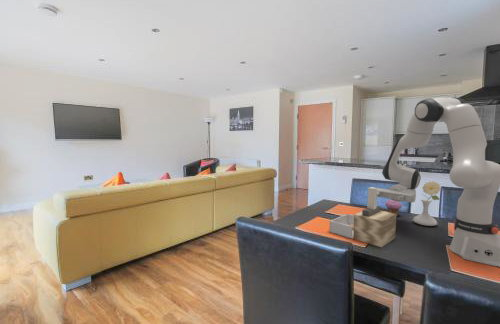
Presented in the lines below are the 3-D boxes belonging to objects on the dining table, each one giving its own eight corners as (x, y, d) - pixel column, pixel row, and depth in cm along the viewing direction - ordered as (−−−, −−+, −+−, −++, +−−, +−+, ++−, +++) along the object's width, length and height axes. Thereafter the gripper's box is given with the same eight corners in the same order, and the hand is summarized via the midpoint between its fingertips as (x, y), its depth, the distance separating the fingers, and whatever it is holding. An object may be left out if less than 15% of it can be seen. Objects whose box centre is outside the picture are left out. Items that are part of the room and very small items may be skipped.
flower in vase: (407, 222, 147) (410, 179, 145) (422, 220, 151) (425, 178, 148) (429, 229, 135) (433, 183, 133) (445, 227, 139) (448, 182, 136)
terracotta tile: (351, 224, 138) (351, 227, 138) (347, 225, 135) (347, 228, 135) (358, 226, 135) (358, 229, 135) (355, 227, 132) (354, 230, 132)
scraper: (380, 211, 127) (381, 186, 126) (368, 216, 118) (369, 190, 117) (374, 210, 129) (375, 185, 128) (362, 215, 121) (363, 189, 119)
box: (368, 230, 134) (368, 219, 134) (351, 238, 123) (352, 226, 122) (347, 224, 143) (347, 213, 143) (329, 232, 132) (329, 220, 131)
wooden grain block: (395, 238, 124) (396, 214, 123) (381, 247, 113) (382, 221, 112) (368, 230, 133) (369, 208, 132) (353, 238, 123) (354, 214, 122)
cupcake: (386, 216, 158) (387, 200, 157) (383, 212, 166) (384, 197, 165) (402, 217, 155) (403, 201, 154) (399, 213, 163) (400, 198, 162)
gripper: (377, 184, 146) (366, 187, 136) (419, 190, 130) (409, 194, 121) (377, 195, 146) (366, 199, 137) (418, 202, 131) (409, 207, 122)
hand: (387, 196), depth 129 cm, fingers open, 8 cm apart
